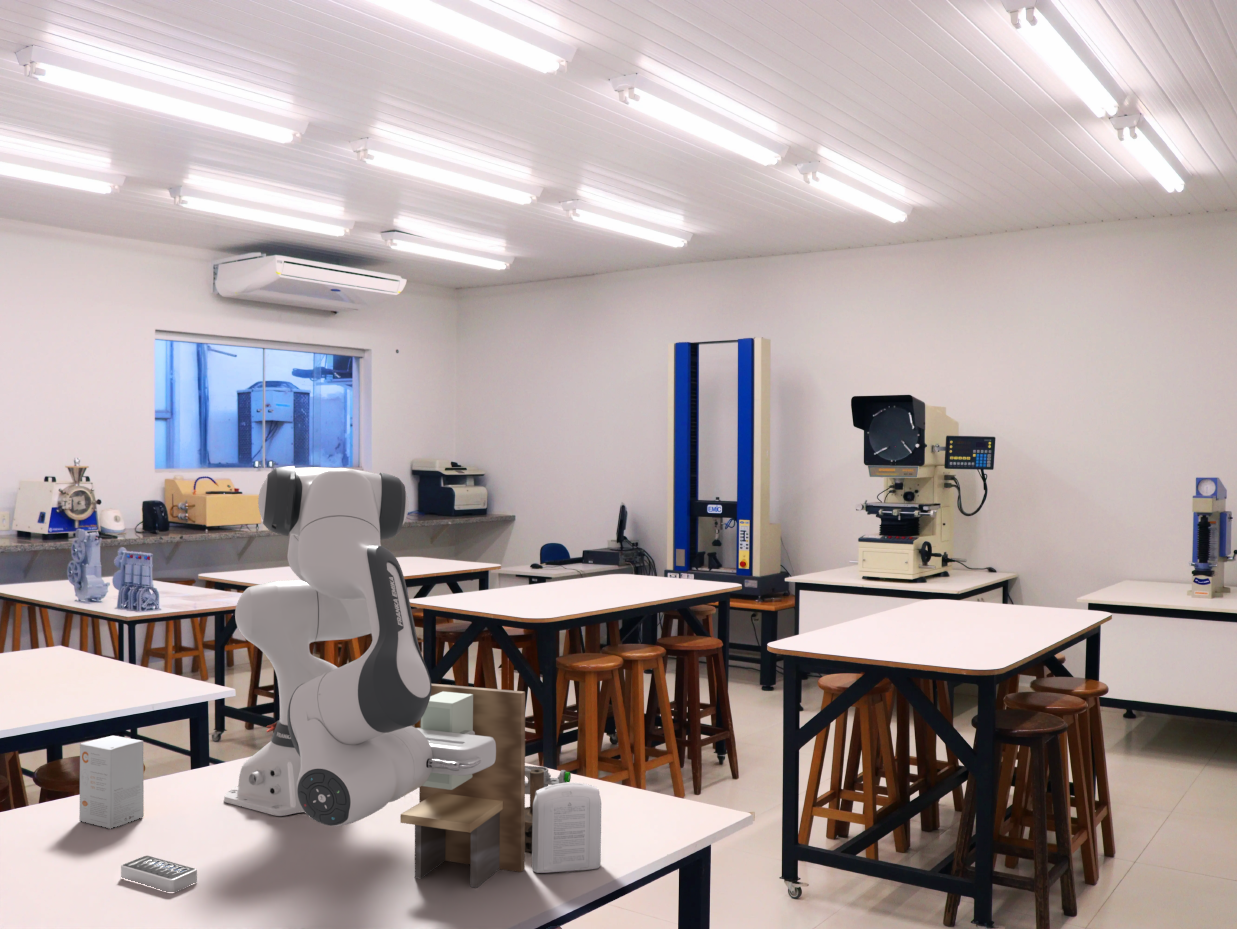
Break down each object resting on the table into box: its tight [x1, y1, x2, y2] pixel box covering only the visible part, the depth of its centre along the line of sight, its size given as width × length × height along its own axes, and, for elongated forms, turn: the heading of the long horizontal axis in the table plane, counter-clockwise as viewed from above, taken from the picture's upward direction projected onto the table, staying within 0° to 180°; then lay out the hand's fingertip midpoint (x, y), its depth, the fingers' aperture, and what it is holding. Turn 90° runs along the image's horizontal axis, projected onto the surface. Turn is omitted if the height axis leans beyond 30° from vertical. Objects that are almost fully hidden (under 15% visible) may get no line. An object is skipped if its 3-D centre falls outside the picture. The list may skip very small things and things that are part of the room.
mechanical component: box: [525, 765, 572, 795], centre depth 161 cm, size 3×10×10 cm, turn 78°
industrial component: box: [525, 769, 544, 853], centre depth 153 cm, size 9×7×12 cm
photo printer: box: [531, 782, 602, 874], centre depth 146 cm, size 10×4×12 cm, turn 103°
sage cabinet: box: [421, 691, 473, 790], centre depth 141 cm, size 5×6×12 cm
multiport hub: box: [120, 855, 198, 893], centre depth 141 cm, size 4×11×2 cm, turn 62°
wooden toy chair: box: [399, 683, 526, 889], centre depth 143 cm, size 17×11×26 cm, turn 70°
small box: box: [78, 735, 145, 830], centre depth 166 cm, size 8×6×13 cm
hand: (450, 733), depth 142 cm, fingers closed on sage cabinet, 5 cm apart
